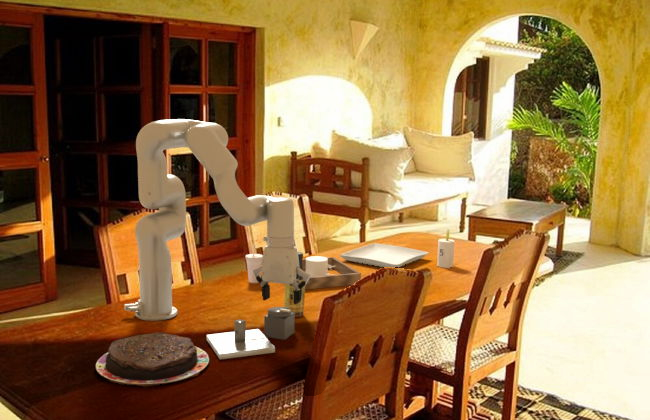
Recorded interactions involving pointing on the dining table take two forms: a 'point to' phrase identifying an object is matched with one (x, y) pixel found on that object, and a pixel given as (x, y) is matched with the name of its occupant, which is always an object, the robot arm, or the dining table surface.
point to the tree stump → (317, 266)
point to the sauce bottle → (289, 294)
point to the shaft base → (240, 342)
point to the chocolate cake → (151, 360)
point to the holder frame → (333, 276)
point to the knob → (279, 323)
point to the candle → (445, 252)
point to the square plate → (383, 255)
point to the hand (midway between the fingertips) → (281, 301)
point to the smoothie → (253, 265)
